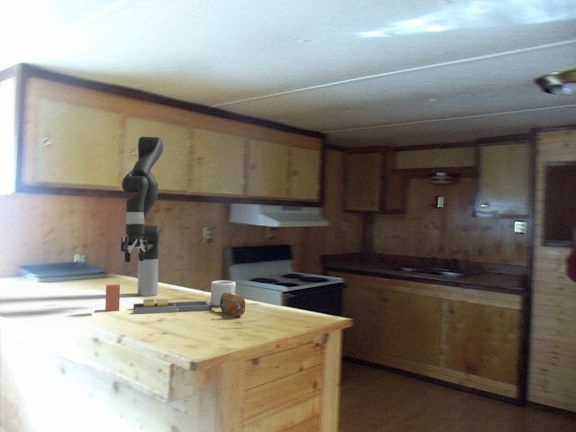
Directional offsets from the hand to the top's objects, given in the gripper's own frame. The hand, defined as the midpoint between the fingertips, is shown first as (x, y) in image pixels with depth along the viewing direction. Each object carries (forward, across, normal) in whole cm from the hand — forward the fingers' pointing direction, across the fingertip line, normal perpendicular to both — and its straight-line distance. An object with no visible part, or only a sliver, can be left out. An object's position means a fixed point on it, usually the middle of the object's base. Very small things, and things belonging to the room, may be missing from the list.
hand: (134, 261), depth 206 cm
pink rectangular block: (+19, +14, +1) cm, 24 cm away
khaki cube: (+19, +4, +17) cm, 26 cm away
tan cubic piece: (+19, +8, +13) cm, 24 cm away
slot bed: (+20, +6, +15) cm, 25 cm away
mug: (+20, -24, +29) cm, 43 cm away
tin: (+21, -7, +43) cm, 48 cm away
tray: (+20, -5, +26) cm, 33 cm away
